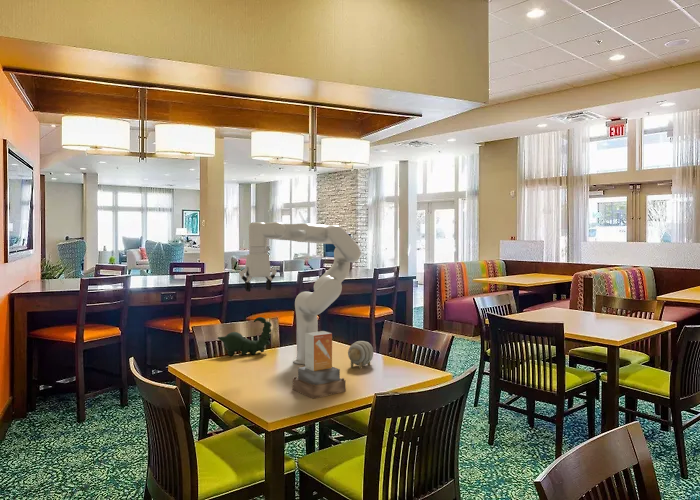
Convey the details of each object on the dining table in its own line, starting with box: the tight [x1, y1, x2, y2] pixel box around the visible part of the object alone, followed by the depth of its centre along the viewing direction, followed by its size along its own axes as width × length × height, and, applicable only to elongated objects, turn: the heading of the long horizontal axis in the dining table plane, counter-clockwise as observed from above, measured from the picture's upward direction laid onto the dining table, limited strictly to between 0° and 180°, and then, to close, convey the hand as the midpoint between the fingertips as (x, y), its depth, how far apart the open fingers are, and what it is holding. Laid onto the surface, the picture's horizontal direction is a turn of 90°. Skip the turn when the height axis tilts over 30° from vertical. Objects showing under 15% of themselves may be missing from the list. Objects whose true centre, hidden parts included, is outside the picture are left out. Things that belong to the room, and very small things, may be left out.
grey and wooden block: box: [292, 366, 347, 400], centre depth 188 cm, size 14×14×8 cm
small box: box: [304, 330, 333, 371], centre depth 188 cm, size 8×6×13 cm
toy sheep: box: [347, 340, 374, 370], centre depth 223 cm, size 11×17×11 cm, turn 153°
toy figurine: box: [217, 316, 273, 356], centre depth 247 cm, size 9×19×25 cm
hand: (258, 290), depth 221 cm, fingers open, 9 cm apart
